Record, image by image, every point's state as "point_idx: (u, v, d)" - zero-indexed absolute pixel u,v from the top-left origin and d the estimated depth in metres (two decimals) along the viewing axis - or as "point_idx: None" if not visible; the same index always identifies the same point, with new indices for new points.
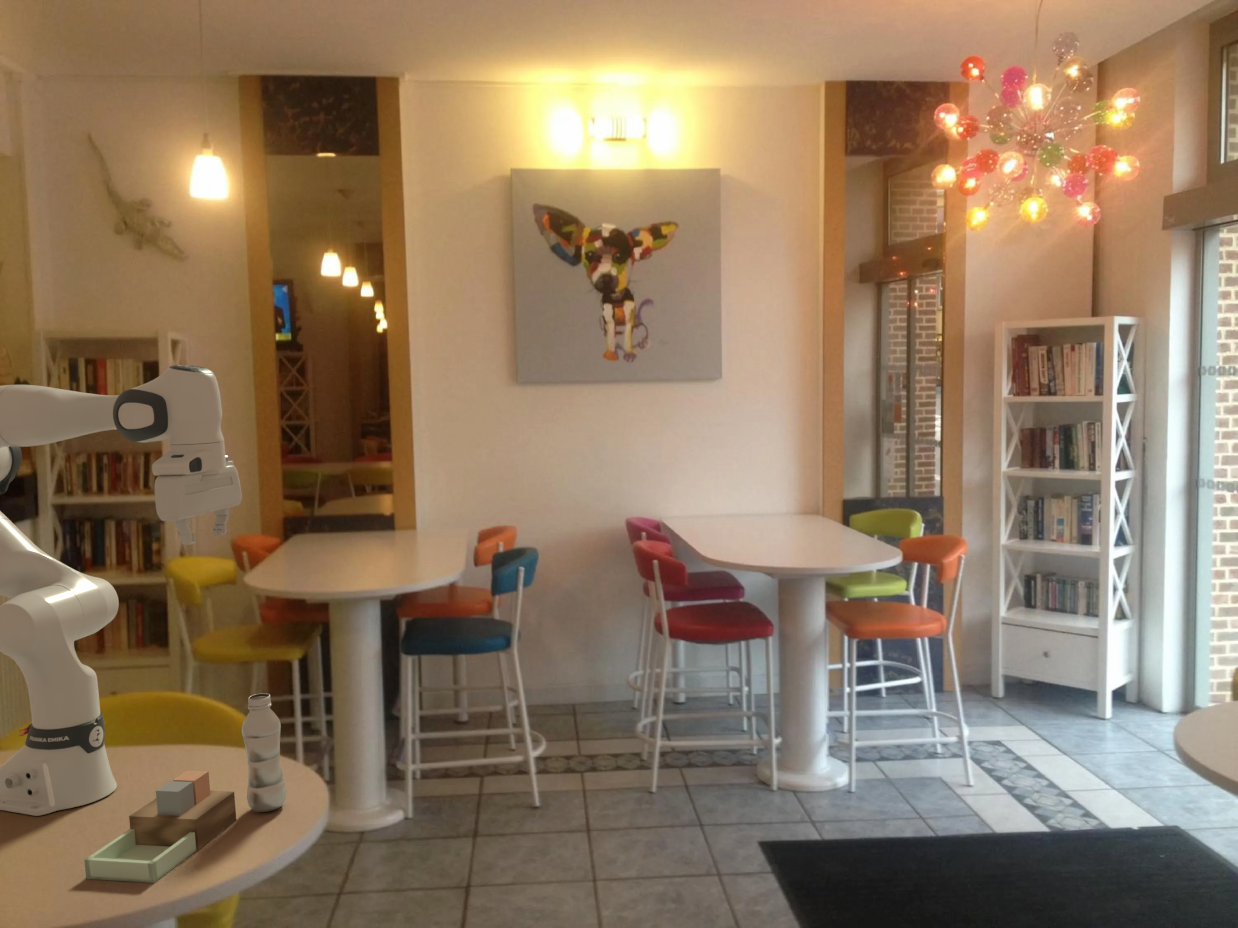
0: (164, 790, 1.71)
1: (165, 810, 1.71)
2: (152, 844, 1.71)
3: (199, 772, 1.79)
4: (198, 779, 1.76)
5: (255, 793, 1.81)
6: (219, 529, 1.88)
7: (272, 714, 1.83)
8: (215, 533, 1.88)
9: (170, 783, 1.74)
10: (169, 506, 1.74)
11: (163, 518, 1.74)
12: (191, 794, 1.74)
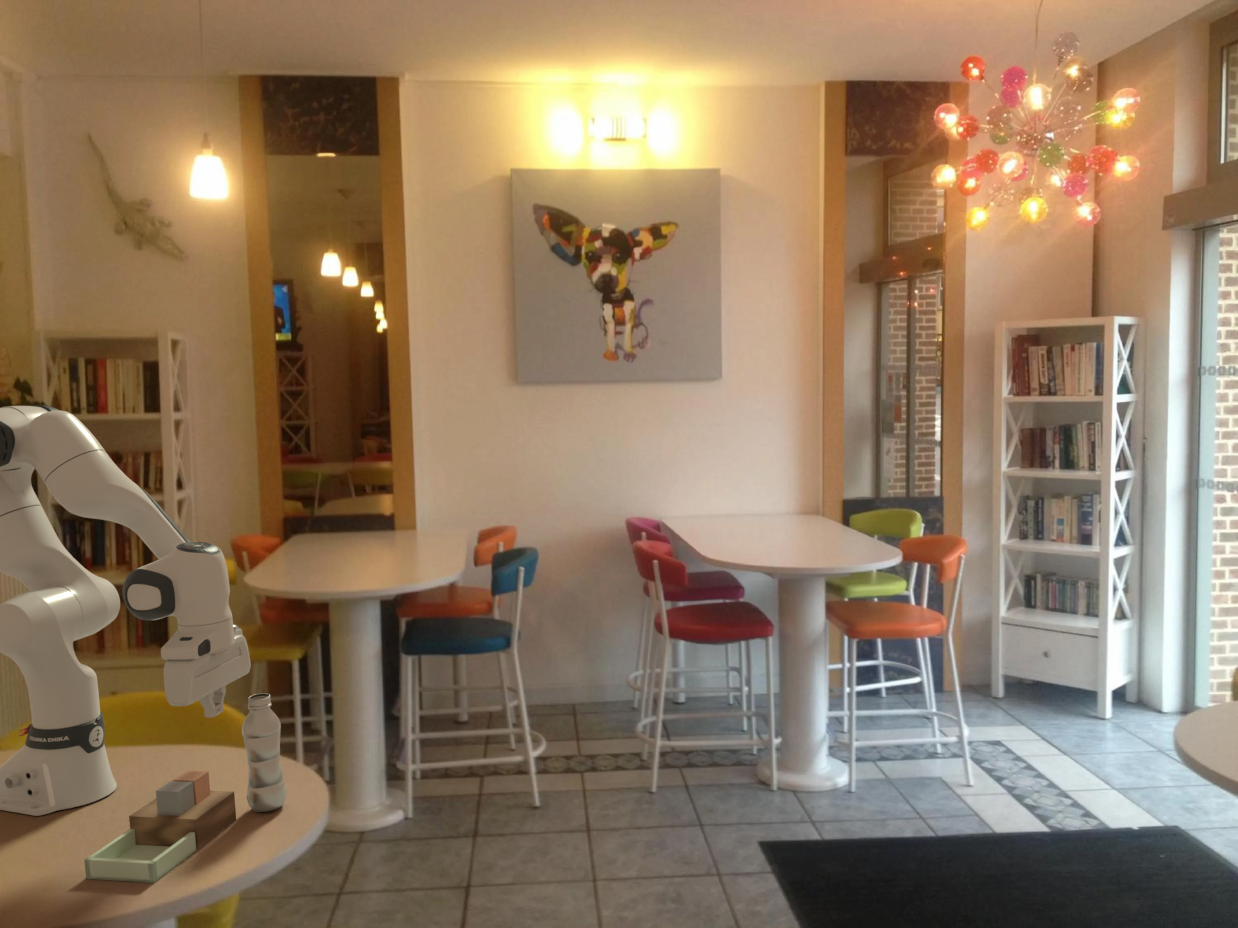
0: (164, 790, 1.71)
1: (165, 810, 1.71)
2: (152, 844, 1.71)
3: (199, 772, 1.79)
4: (198, 779, 1.76)
5: (255, 793, 1.81)
6: None
7: (272, 714, 1.83)
8: None
9: (170, 783, 1.74)
10: (179, 692, 1.73)
11: (173, 704, 1.74)
12: (191, 794, 1.74)
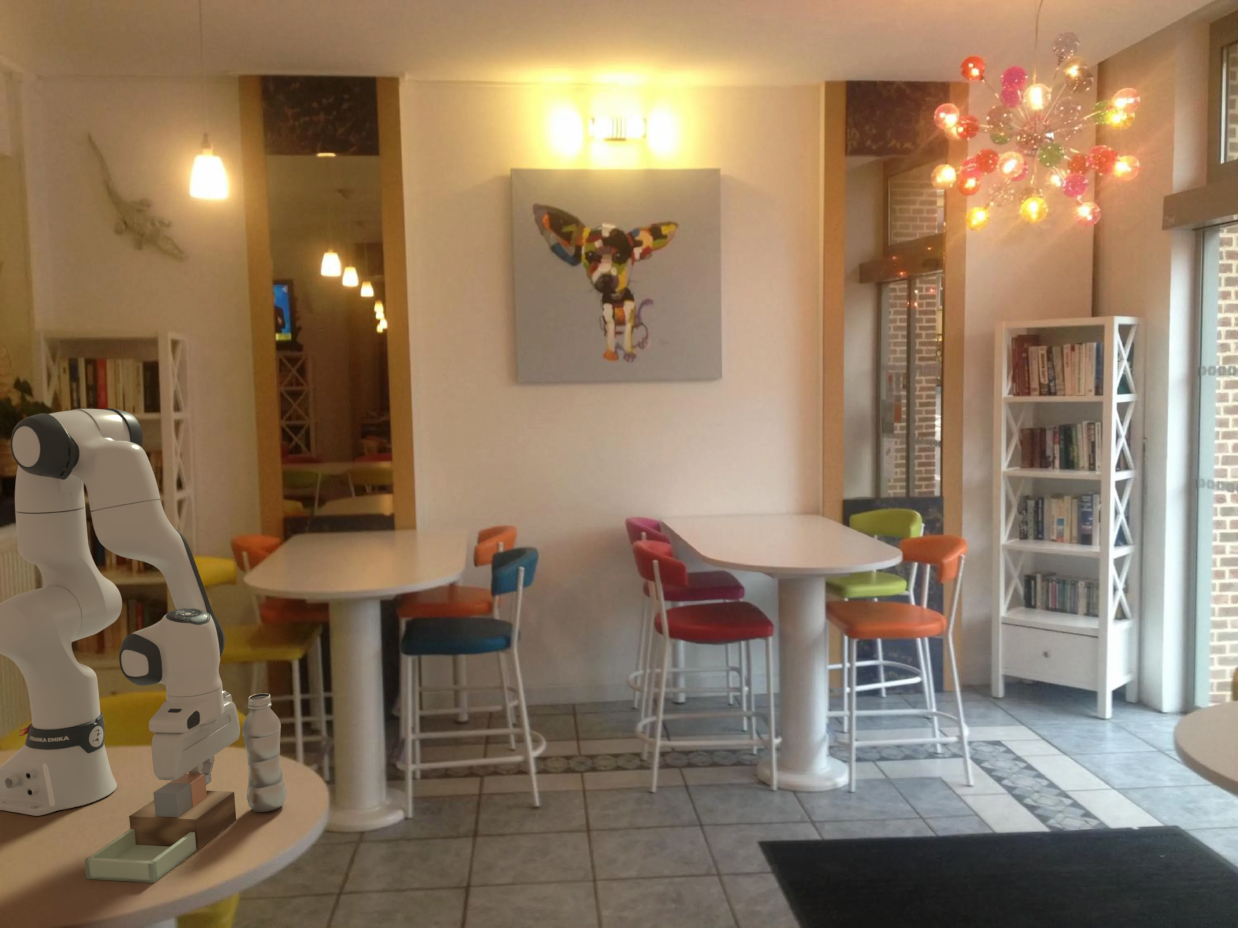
0: (162, 792, 1.71)
1: (163, 811, 1.71)
2: (152, 844, 1.71)
3: (195, 775, 1.77)
4: (195, 782, 1.75)
5: (255, 793, 1.81)
6: None
7: (272, 714, 1.83)
8: None
9: (168, 785, 1.74)
10: (167, 766, 1.70)
11: (160, 778, 1.70)
12: (189, 795, 1.73)
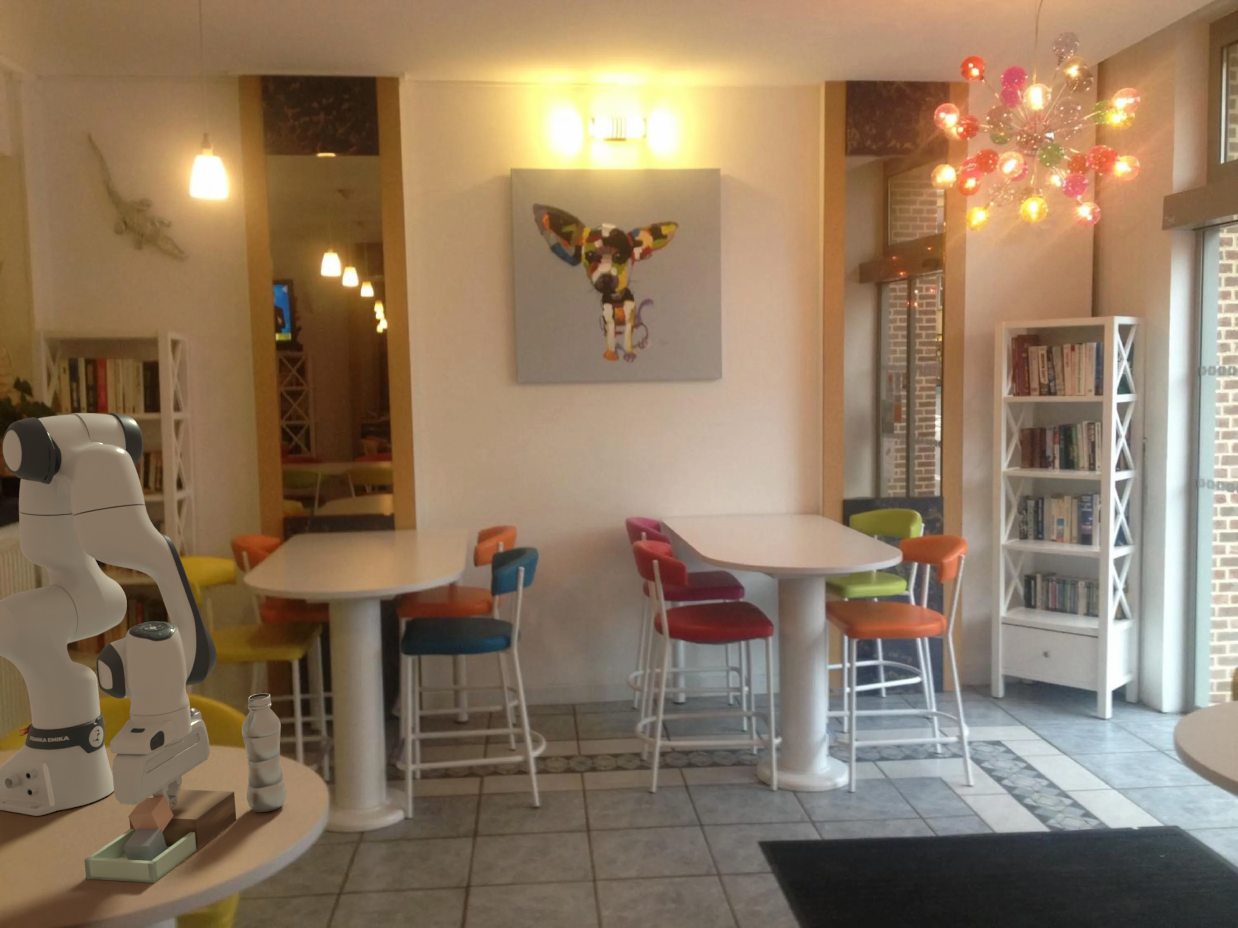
0: None
1: None
2: None
3: (154, 799, 1.68)
4: (155, 809, 1.66)
5: (255, 793, 1.81)
6: None
7: (272, 714, 1.83)
8: None
9: (128, 850, 1.62)
10: (128, 790, 1.60)
11: (122, 802, 1.61)
12: (155, 840, 1.64)
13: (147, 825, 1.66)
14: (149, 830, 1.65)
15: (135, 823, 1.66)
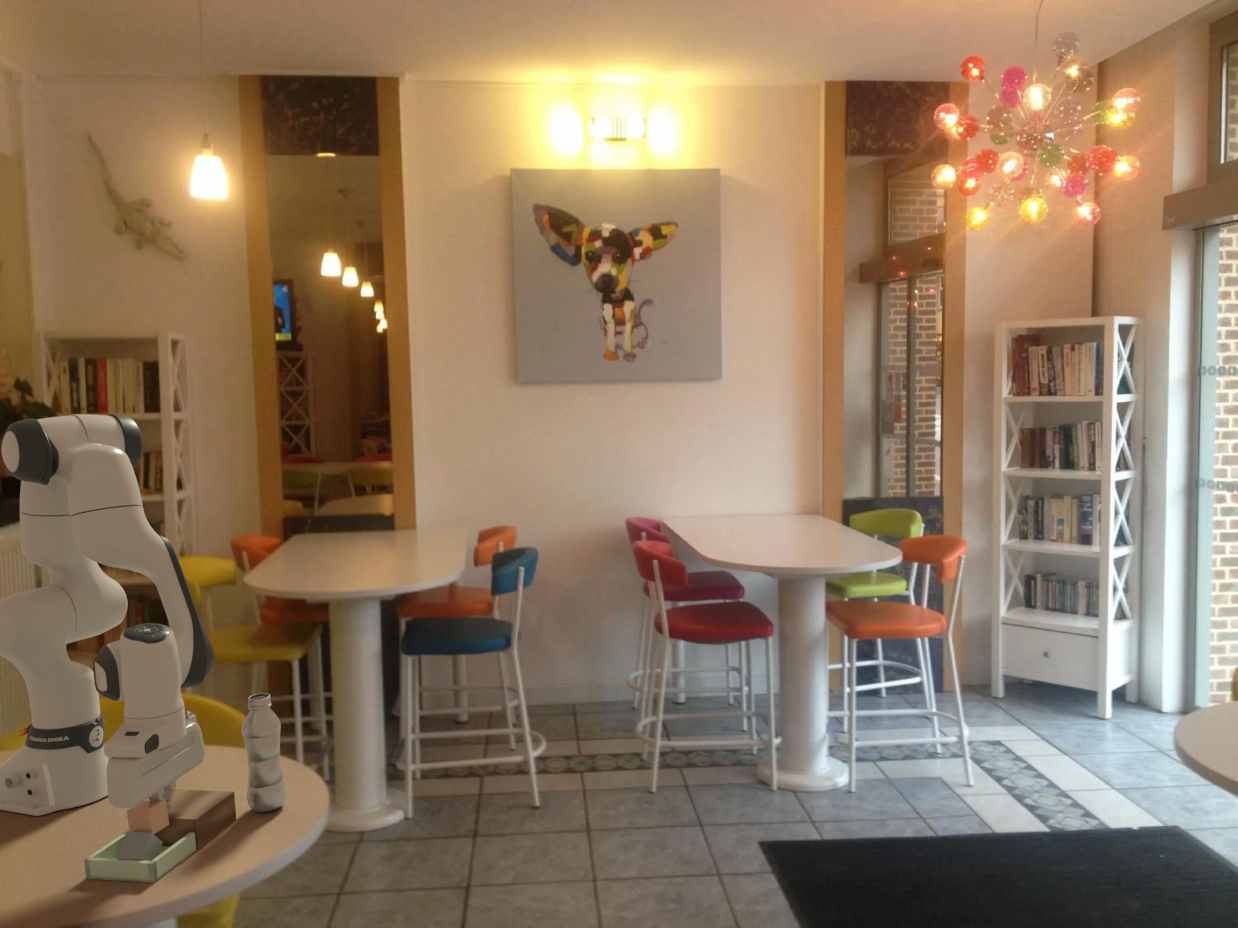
0: None
1: None
2: None
3: (156, 801, 1.67)
4: (154, 808, 1.64)
5: (255, 793, 1.81)
6: None
7: (272, 714, 1.83)
8: None
9: None
10: (123, 793, 1.59)
11: (116, 806, 1.60)
12: (148, 847, 1.62)
13: (141, 824, 1.64)
14: (140, 835, 1.62)
15: (130, 820, 1.64)
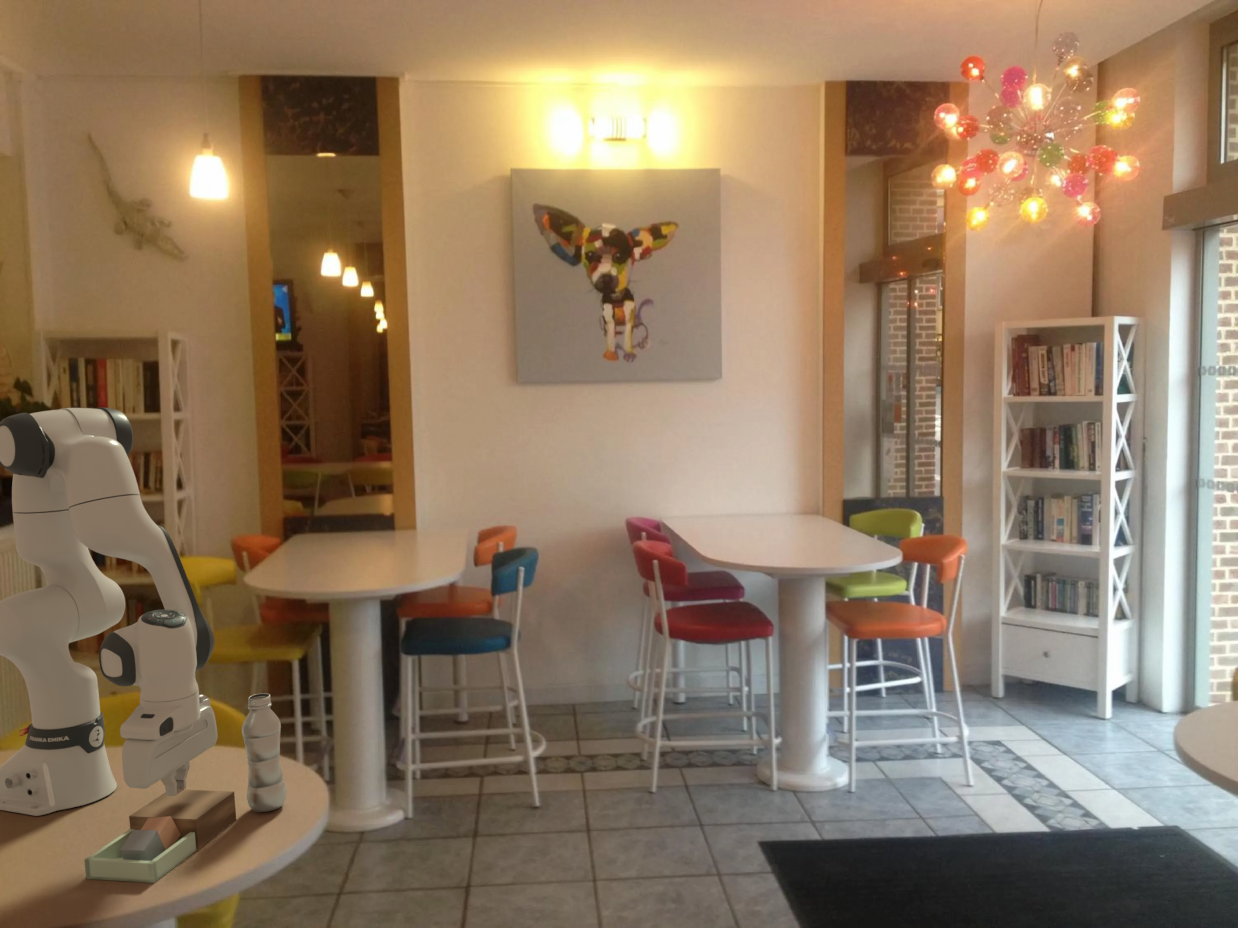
0: None
1: None
2: None
3: None
4: (172, 822, 1.69)
5: (255, 793, 1.81)
6: None
7: (272, 714, 1.83)
8: None
9: (125, 854, 1.62)
10: (137, 774, 1.64)
11: (131, 786, 1.64)
12: (151, 843, 1.63)
13: (153, 827, 1.67)
14: (145, 832, 1.64)
15: (146, 825, 1.68)
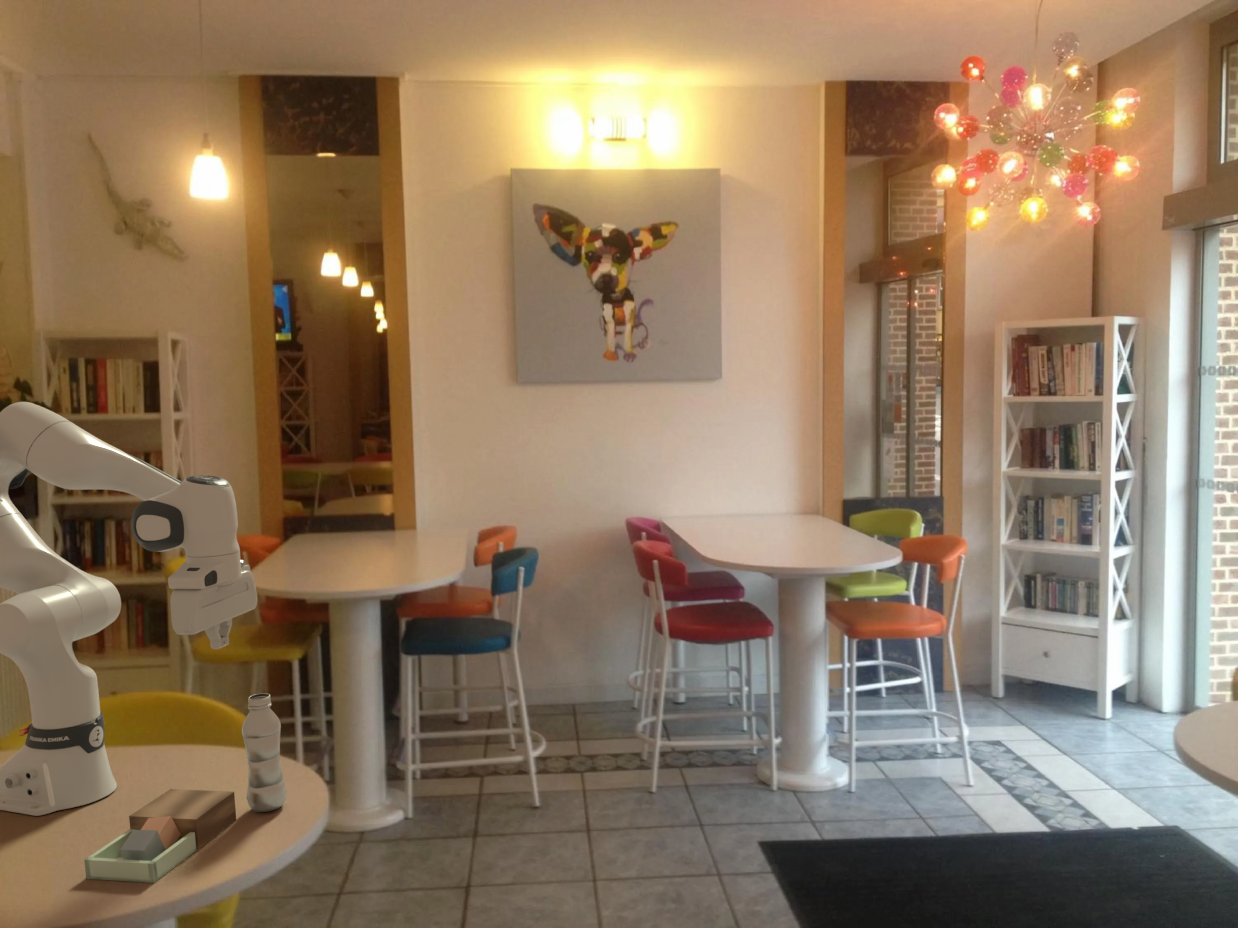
0: None
1: None
2: None
3: None
4: (172, 822, 1.69)
5: (255, 793, 1.81)
6: None
7: (272, 714, 1.83)
8: None
9: (125, 854, 1.62)
10: (185, 621, 1.75)
11: (178, 632, 1.76)
12: (151, 843, 1.63)
13: (153, 827, 1.67)
14: (145, 832, 1.64)
15: (146, 825, 1.68)
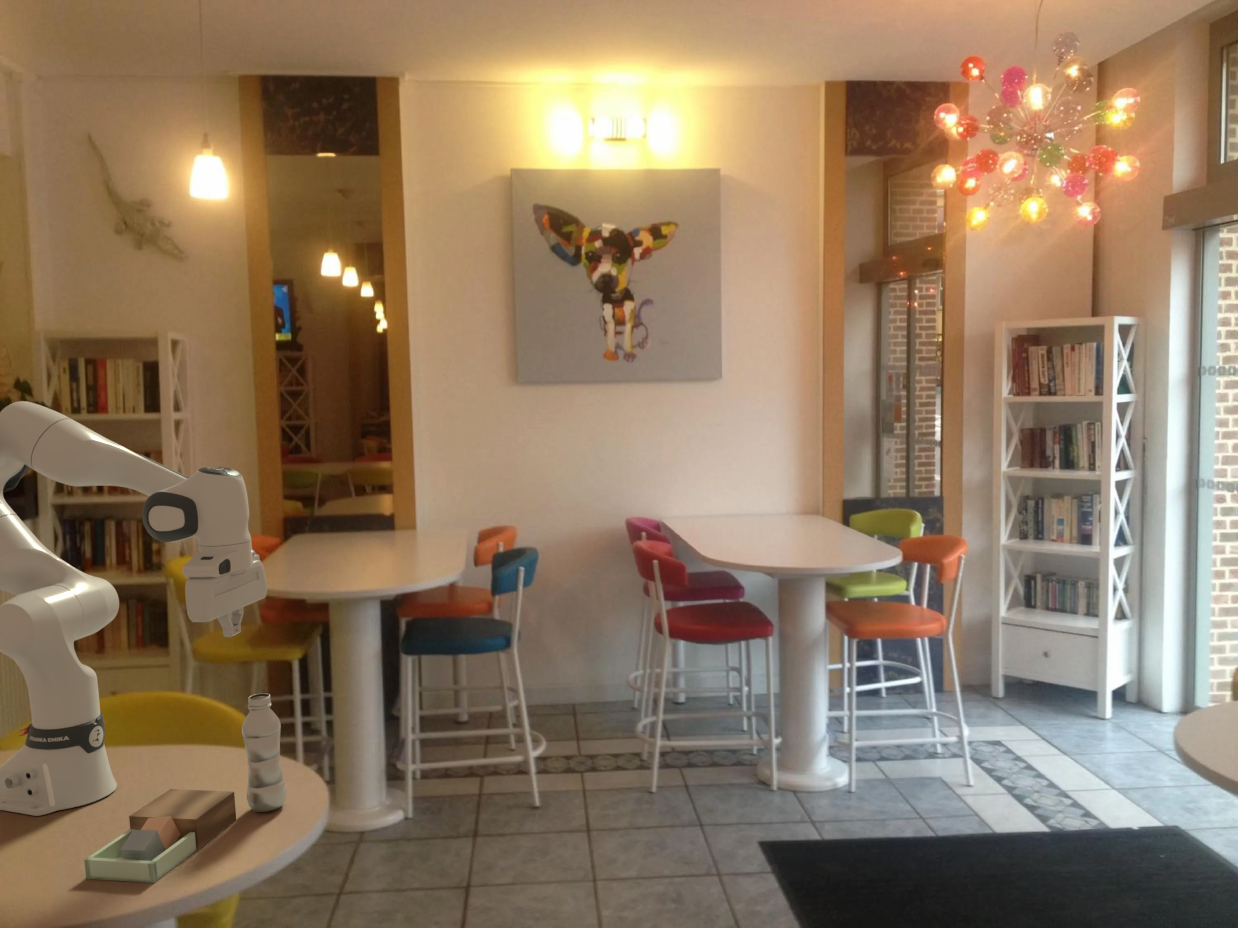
0: None
1: None
2: None
3: None
4: (172, 822, 1.69)
5: (255, 793, 1.81)
6: None
7: (272, 714, 1.83)
8: None
9: (125, 854, 1.62)
10: (200, 608, 1.79)
11: (193, 620, 1.80)
12: (151, 843, 1.63)
13: (153, 827, 1.67)
14: (145, 832, 1.64)
15: (146, 825, 1.68)
